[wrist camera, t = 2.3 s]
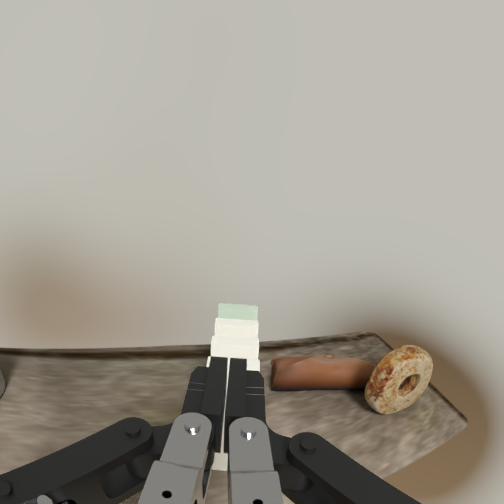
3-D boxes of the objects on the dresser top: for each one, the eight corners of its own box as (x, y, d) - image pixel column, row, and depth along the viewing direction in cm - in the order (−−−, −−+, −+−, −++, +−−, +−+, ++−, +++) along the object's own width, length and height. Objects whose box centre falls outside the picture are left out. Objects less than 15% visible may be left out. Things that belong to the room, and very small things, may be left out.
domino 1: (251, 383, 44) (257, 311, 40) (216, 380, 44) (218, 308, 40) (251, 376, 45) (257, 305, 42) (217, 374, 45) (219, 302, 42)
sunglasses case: (371, 359, 51) (387, 341, 46) (376, 397, 46) (394, 383, 41) (267, 358, 50) (272, 340, 45) (267, 399, 45) (272, 386, 40)
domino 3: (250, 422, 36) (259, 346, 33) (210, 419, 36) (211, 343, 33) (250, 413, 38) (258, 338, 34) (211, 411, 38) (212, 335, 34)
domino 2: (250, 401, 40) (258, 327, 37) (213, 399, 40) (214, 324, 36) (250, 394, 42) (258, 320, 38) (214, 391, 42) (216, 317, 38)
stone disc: (366, 425, 36) (389, 366, 33) (354, 407, 39) (373, 350, 36) (422, 406, 38) (447, 351, 35) (409, 391, 42) (430, 337, 39)
